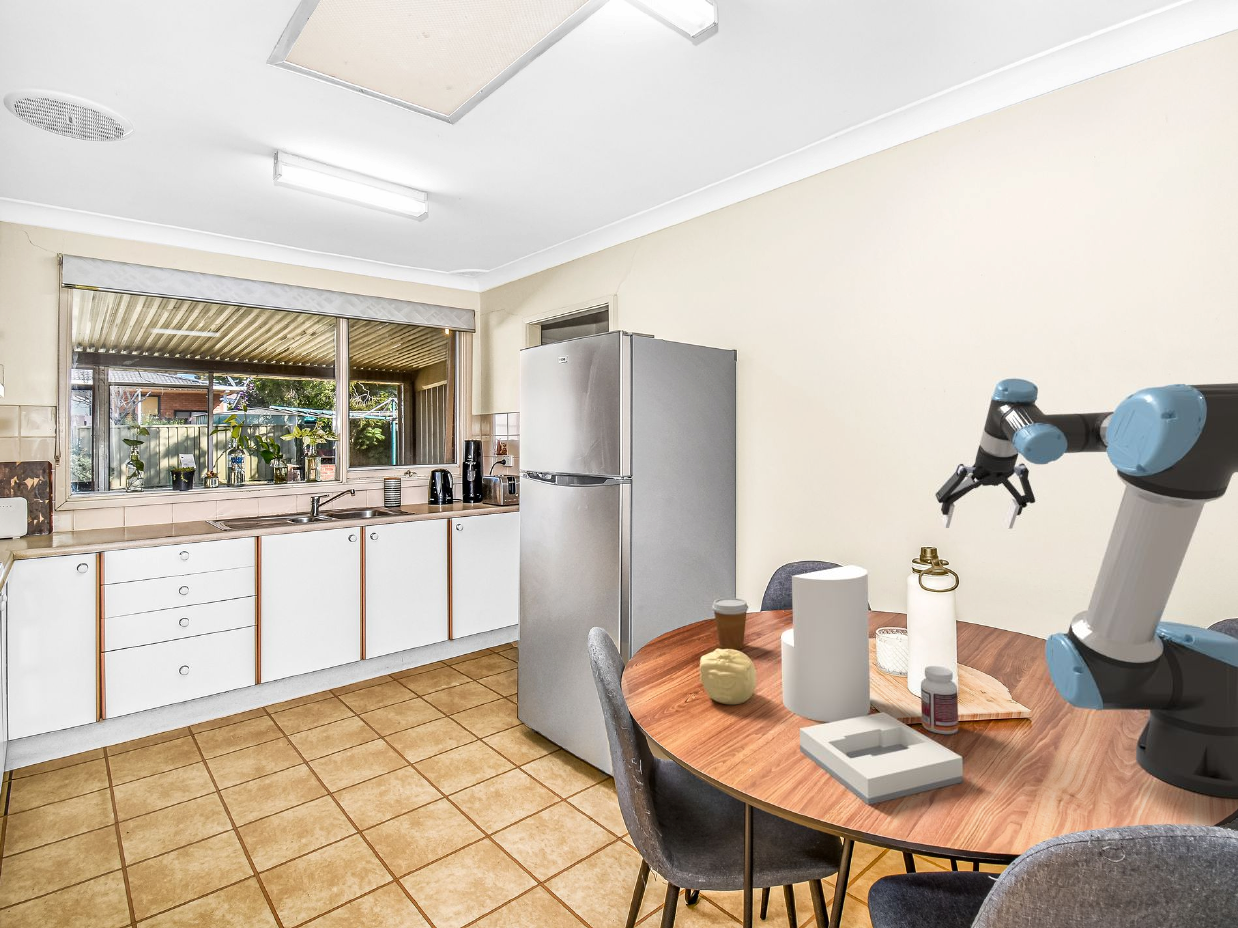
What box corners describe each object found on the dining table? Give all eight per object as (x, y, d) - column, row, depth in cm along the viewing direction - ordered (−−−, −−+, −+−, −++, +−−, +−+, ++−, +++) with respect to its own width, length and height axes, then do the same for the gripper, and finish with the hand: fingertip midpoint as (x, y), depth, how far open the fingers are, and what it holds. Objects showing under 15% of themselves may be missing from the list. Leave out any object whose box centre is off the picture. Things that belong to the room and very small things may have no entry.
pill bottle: (963, 727, 120) (962, 669, 120) (951, 738, 116) (950, 679, 115) (928, 717, 124) (927, 661, 124) (916, 728, 120) (915, 670, 120)
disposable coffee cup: (710, 651, 167) (709, 605, 167) (716, 639, 176) (714, 596, 176) (747, 653, 164) (746, 607, 164) (751, 641, 173) (749, 598, 173)
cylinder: (889, 708, 129) (886, 571, 128) (828, 730, 121) (825, 583, 119) (823, 681, 144) (820, 558, 143) (765, 699, 136) (762, 569, 135)
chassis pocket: (883, 733, 119) (883, 711, 119) (962, 781, 102) (962, 757, 101) (800, 750, 113) (799, 728, 113) (868, 804, 96) (867, 778, 96)
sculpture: (694, 704, 134) (693, 654, 134) (713, 684, 145) (712, 637, 144) (747, 714, 129) (746, 661, 128) (763, 692, 139) (762, 643, 139)
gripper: (1054, 438, 138) (1028, 514, 149) (932, 439, 141) (915, 513, 153) (1070, 457, 131) (1041, 535, 143) (942, 458, 135) (924, 534, 147)
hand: (976, 524), depth 148 cm, fingers open, 13 cm apart
